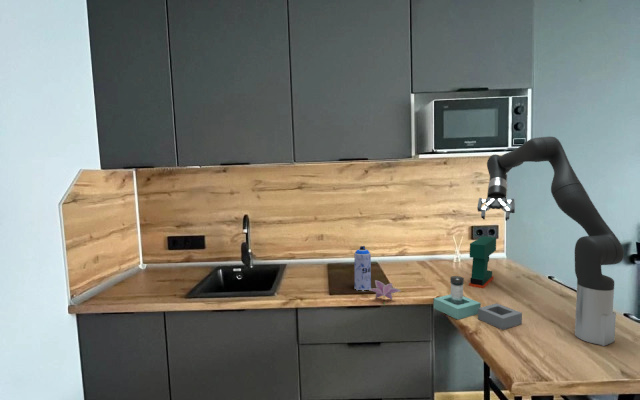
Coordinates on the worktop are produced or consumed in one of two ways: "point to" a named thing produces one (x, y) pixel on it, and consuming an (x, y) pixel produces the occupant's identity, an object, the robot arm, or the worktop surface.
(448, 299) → the teal square tray
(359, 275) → the aerosol can
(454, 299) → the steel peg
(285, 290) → the worktop surface
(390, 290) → the lily
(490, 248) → the power tool
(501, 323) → the socket block
